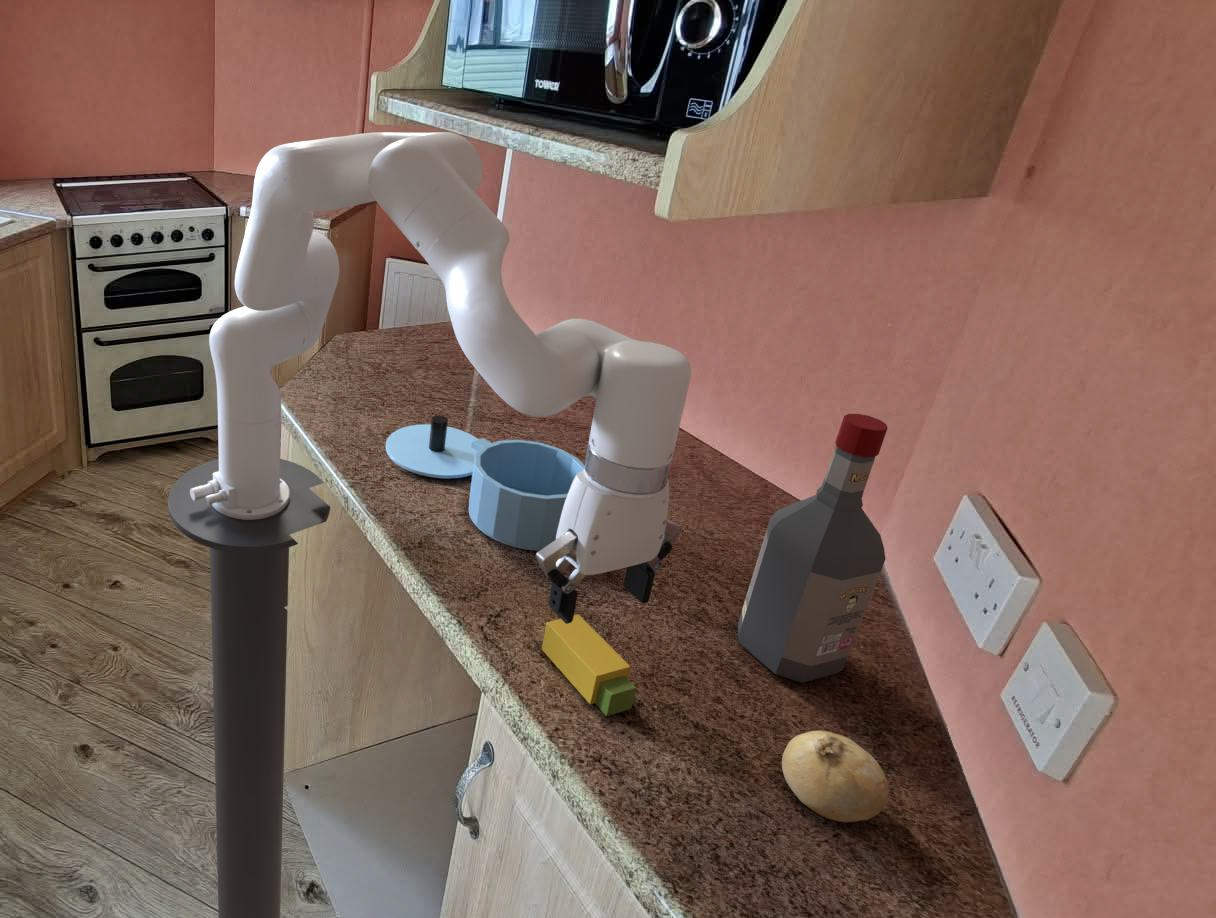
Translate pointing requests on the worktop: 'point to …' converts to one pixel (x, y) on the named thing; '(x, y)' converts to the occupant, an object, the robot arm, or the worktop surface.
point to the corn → (589, 664)
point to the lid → (433, 449)
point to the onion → (834, 776)
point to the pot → (520, 491)
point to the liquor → (818, 566)
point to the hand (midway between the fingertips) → (598, 604)
